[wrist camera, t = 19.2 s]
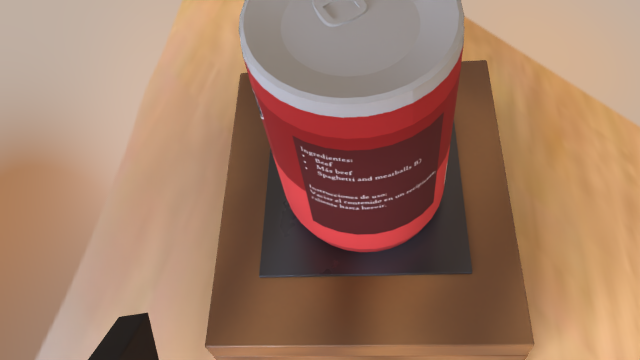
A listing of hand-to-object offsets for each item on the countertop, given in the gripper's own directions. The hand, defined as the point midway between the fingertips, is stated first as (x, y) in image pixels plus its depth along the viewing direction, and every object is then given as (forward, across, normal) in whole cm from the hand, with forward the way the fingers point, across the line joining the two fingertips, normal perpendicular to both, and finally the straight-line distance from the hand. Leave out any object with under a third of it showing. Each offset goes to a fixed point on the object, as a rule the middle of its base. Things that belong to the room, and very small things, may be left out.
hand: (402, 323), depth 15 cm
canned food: (+14, 0, 0) cm, 14 cm away
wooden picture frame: (+17, 0, -2) cm, 17 cm away
